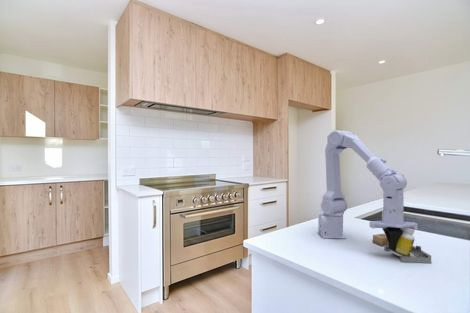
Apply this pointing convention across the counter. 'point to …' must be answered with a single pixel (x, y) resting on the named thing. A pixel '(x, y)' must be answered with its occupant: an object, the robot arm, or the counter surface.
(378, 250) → the counter surface
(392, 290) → the counter surface
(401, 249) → the supplement bottle
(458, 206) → the counter surface
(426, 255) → the steel cradle
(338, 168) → the robot arm
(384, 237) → the tan cardboard box
